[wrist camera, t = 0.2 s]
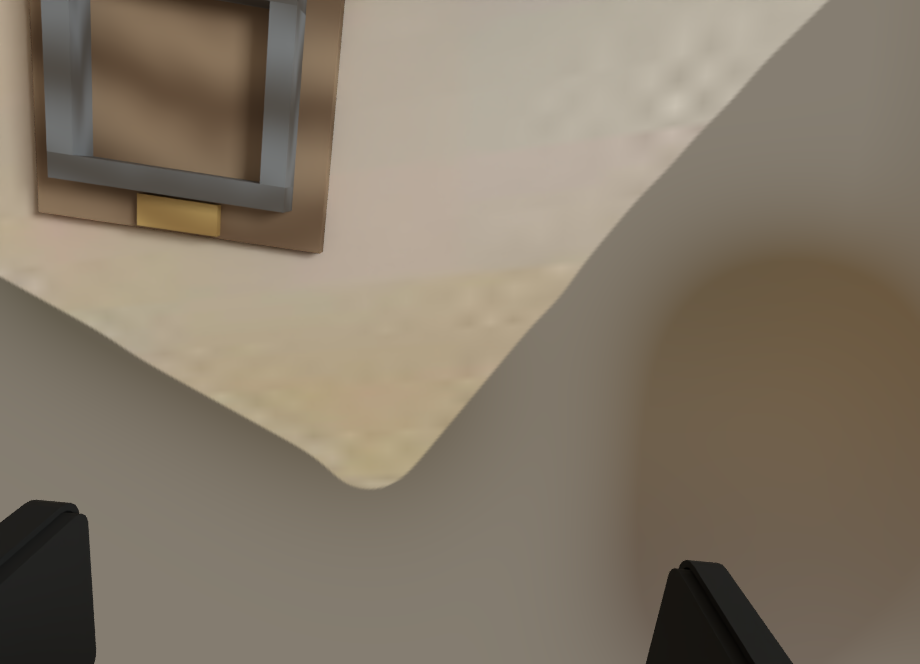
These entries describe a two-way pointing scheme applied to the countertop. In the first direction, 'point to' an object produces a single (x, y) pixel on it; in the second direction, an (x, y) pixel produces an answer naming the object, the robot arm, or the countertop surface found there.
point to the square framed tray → (188, 114)
